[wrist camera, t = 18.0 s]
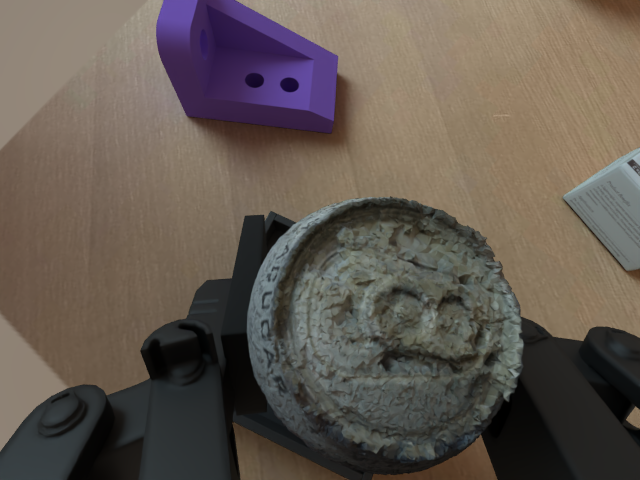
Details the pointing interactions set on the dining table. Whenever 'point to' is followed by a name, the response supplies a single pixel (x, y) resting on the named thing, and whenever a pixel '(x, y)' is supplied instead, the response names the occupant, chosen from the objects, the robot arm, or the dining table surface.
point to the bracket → (245, 66)
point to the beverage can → (384, 334)
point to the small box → (613, 207)
